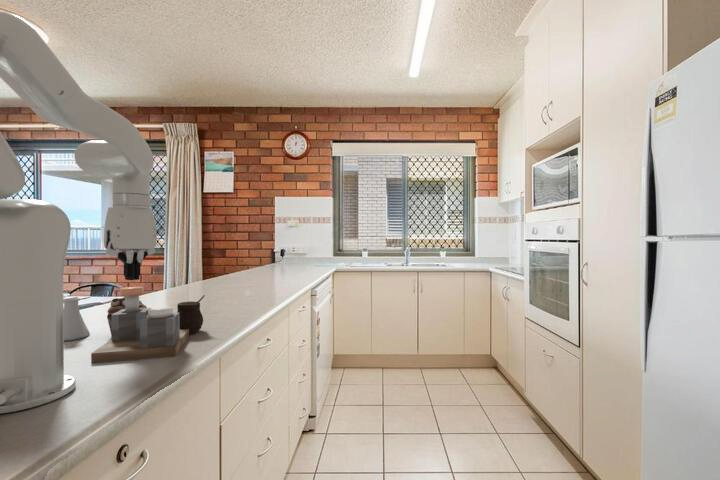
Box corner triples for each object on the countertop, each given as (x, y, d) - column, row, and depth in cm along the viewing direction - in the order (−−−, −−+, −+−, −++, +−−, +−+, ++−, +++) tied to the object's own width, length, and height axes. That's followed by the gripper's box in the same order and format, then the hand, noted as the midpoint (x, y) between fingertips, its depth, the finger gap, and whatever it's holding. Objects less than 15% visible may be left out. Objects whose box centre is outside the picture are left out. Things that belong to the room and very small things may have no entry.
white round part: (170, 337, 78) (170, 310, 78) (145, 339, 77) (145, 311, 77) (175, 331, 83) (174, 306, 83) (151, 333, 81) (151, 307, 81)
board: (175, 356, 77) (175, 319, 77) (91, 363, 73) (91, 323, 73) (188, 336, 92) (188, 305, 92) (119, 341, 87) (119, 309, 87)
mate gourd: (173, 330, 98) (174, 294, 98) (204, 328, 101) (204, 292, 101) (172, 337, 91) (173, 298, 91) (204, 334, 95) (205, 296, 95)
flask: (96, 334, 94) (96, 296, 94) (71, 342, 87) (71, 301, 87) (71, 333, 95) (71, 296, 95) (44, 341, 88) (44, 301, 88)
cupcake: (136, 339, 90) (136, 299, 90) (97, 339, 90) (97, 299, 90) (157, 329, 100) (157, 293, 99) (122, 329, 99) (122, 293, 99)
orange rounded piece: (140, 314, 83) (140, 289, 83) (116, 315, 82) (116, 289, 82) (146, 310, 88) (146, 286, 88) (124, 311, 87) (124, 287, 87)
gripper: (153, 205, 93) (153, 275, 93) (87, 200, 80) (88, 282, 80) (171, 204, 90) (171, 277, 90) (105, 199, 77) (105, 284, 77)
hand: (132, 279), depth 85 cm, fingers closed
